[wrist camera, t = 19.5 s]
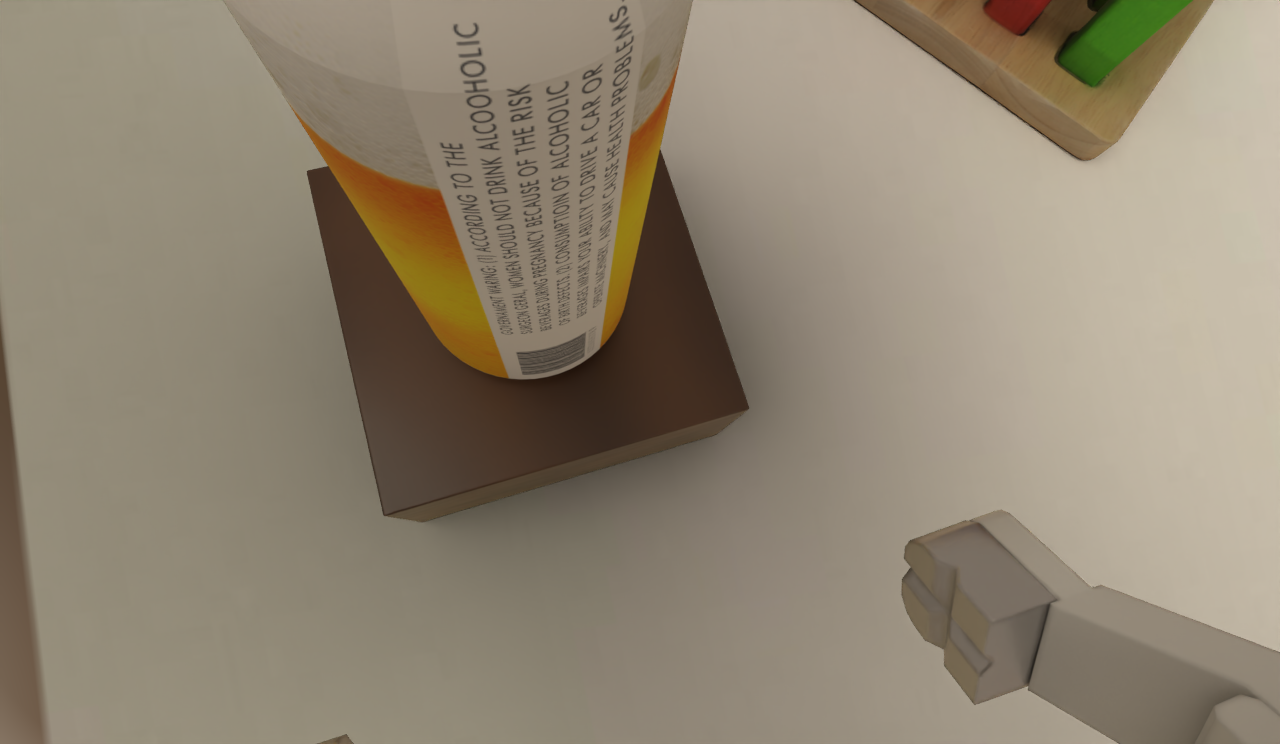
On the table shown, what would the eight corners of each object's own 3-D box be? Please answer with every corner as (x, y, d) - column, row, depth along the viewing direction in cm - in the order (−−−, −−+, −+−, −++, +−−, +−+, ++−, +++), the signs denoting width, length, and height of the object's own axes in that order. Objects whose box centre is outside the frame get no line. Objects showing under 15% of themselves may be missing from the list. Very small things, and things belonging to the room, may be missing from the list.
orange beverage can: (573, 171, 23) (576, -502, 8) (659, 334, 22) (841, -105, 7) (393, 243, 21) (23, -392, 7) (475, 420, 20) (240, 106, 6)
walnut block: (420, 522, 24) (383, 516, 20) (353, 238, 27) (305, 170, 22) (717, 434, 26) (750, 409, 21) (631, 174, 28) (643, 98, 24)
